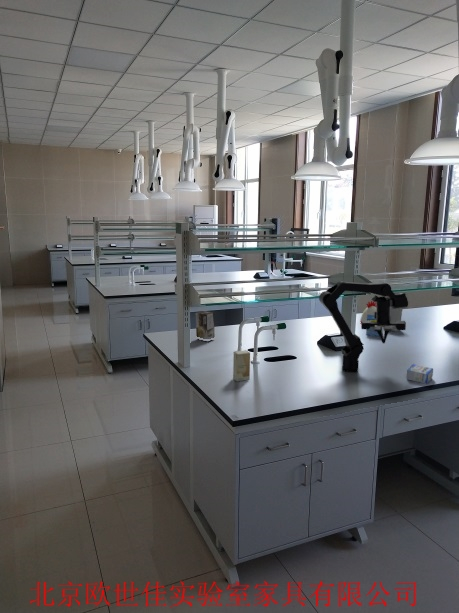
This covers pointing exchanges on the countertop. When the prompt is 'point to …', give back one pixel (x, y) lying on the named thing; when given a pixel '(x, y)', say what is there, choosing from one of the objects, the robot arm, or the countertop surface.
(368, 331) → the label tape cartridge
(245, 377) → the skincare box
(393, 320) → the skincare box
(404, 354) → the countertop surface
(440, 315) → the countertop surface
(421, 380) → the medicine box
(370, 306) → the kitchen timer
